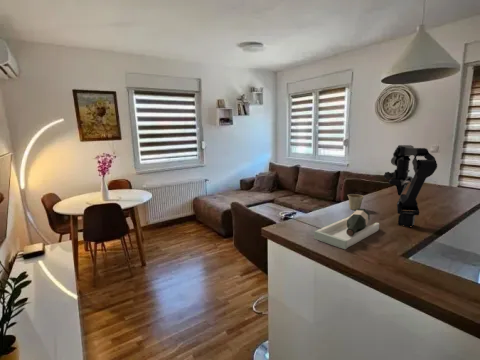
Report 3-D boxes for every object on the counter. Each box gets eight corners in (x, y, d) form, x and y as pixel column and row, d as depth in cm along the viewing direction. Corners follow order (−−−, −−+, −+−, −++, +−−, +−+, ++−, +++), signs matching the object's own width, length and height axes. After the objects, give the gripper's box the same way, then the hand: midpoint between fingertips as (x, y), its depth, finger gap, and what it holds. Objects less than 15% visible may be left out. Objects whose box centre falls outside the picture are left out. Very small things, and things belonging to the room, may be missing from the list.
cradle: (378, 230, 134) (379, 223, 133) (344, 249, 113) (345, 241, 112) (349, 222, 145) (350, 216, 145) (314, 238, 124) (314, 231, 123)
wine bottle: (372, 212, 138) (363, 229, 114) (366, 226, 141) (355, 245, 116) (356, 205, 142) (344, 220, 117) (350, 219, 145) (337, 236, 120)
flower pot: (348, 206, 176) (349, 193, 175) (363, 208, 172) (364, 195, 170) (345, 209, 169) (346, 196, 167) (361, 212, 164) (362, 198, 162)
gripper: (393, 165, 160) (390, 190, 163) (380, 168, 148) (377, 195, 151) (414, 167, 152) (411, 193, 155) (402, 170, 140) (399, 199, 143)
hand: (399, 195), depth 151 cm, fingers closed
